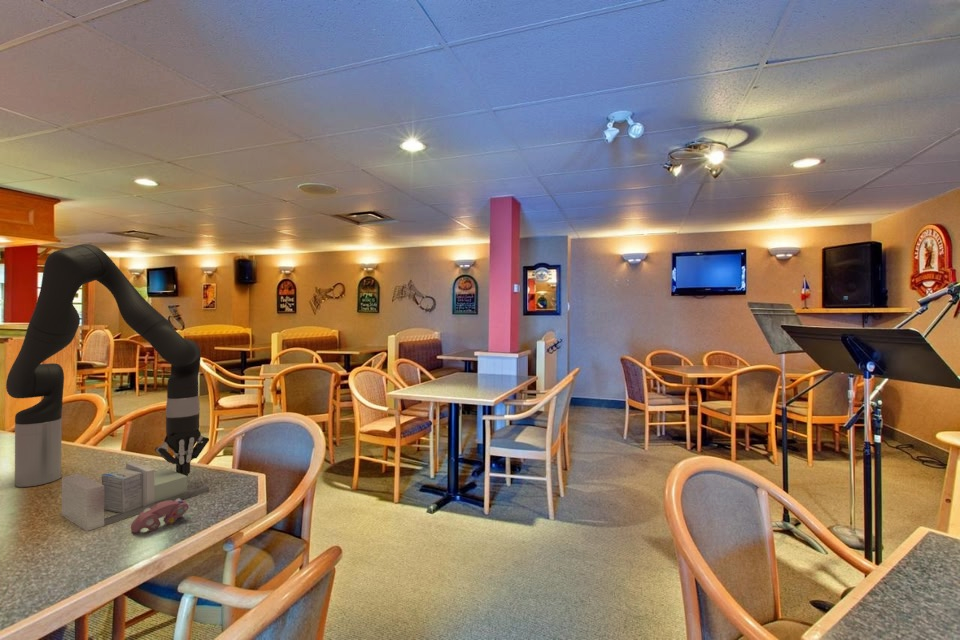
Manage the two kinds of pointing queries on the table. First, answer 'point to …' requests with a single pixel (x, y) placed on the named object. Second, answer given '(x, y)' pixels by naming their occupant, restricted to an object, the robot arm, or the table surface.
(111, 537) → the table surface
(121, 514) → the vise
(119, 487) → the medicine box
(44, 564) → the table surface
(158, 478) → the sliding jaw
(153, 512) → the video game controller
